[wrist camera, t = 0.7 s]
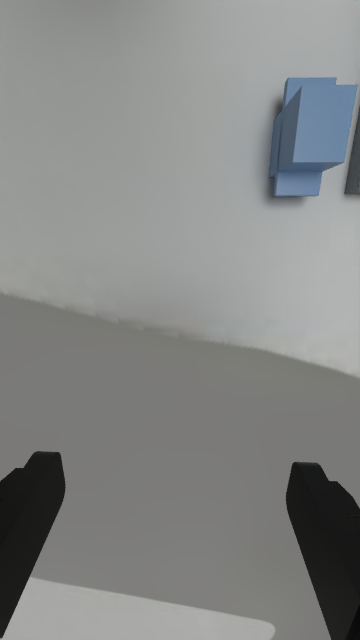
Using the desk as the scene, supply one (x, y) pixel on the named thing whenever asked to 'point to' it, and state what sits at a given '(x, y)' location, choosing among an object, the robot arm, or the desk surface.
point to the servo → (310, 134)
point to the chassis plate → (354, 164)
